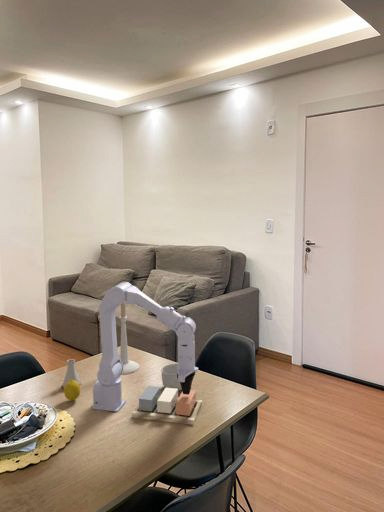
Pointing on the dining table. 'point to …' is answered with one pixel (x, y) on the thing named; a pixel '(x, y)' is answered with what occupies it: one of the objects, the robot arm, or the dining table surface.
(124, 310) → the candlestick
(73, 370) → the flask
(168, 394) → the ivory key
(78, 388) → the lemon
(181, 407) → the terracotta key
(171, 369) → the teacup
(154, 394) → the grey rectangular block
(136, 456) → the dining table surface
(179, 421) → the wooden tray
